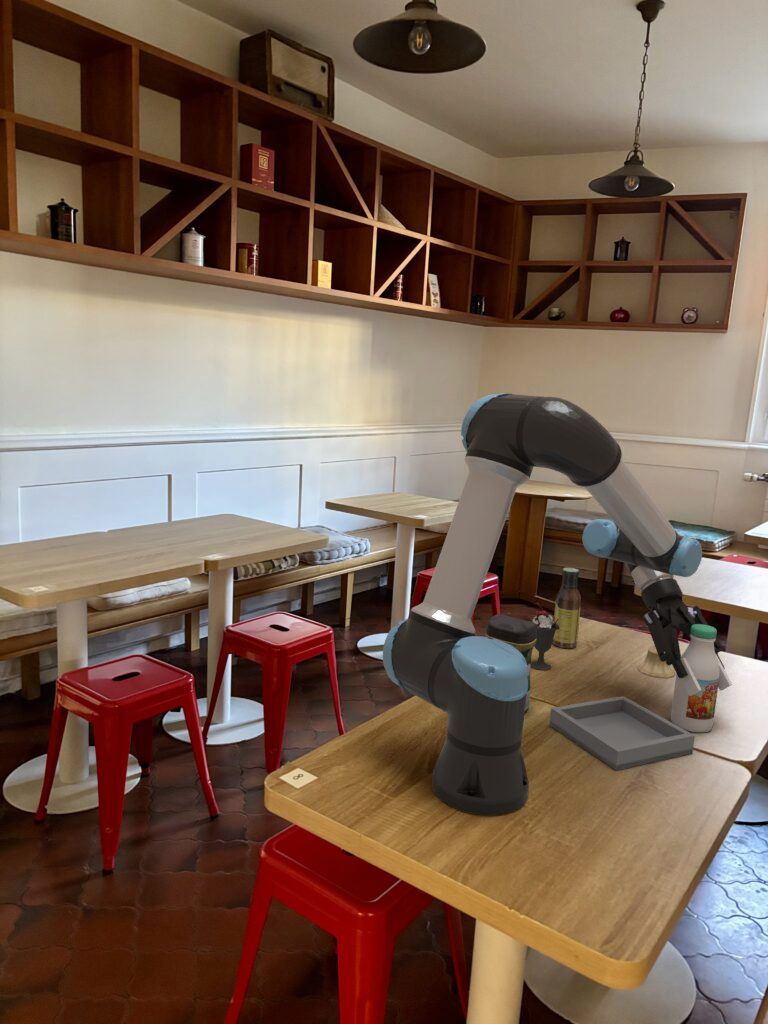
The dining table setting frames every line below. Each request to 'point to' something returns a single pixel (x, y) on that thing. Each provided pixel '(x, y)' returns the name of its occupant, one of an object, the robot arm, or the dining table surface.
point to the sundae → (543, 637)
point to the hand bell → (655, 665)
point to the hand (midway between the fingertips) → (710, 690)
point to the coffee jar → (515, 638)
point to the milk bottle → (705, 667)
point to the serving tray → (621, 732)
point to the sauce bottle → (567, 610)
